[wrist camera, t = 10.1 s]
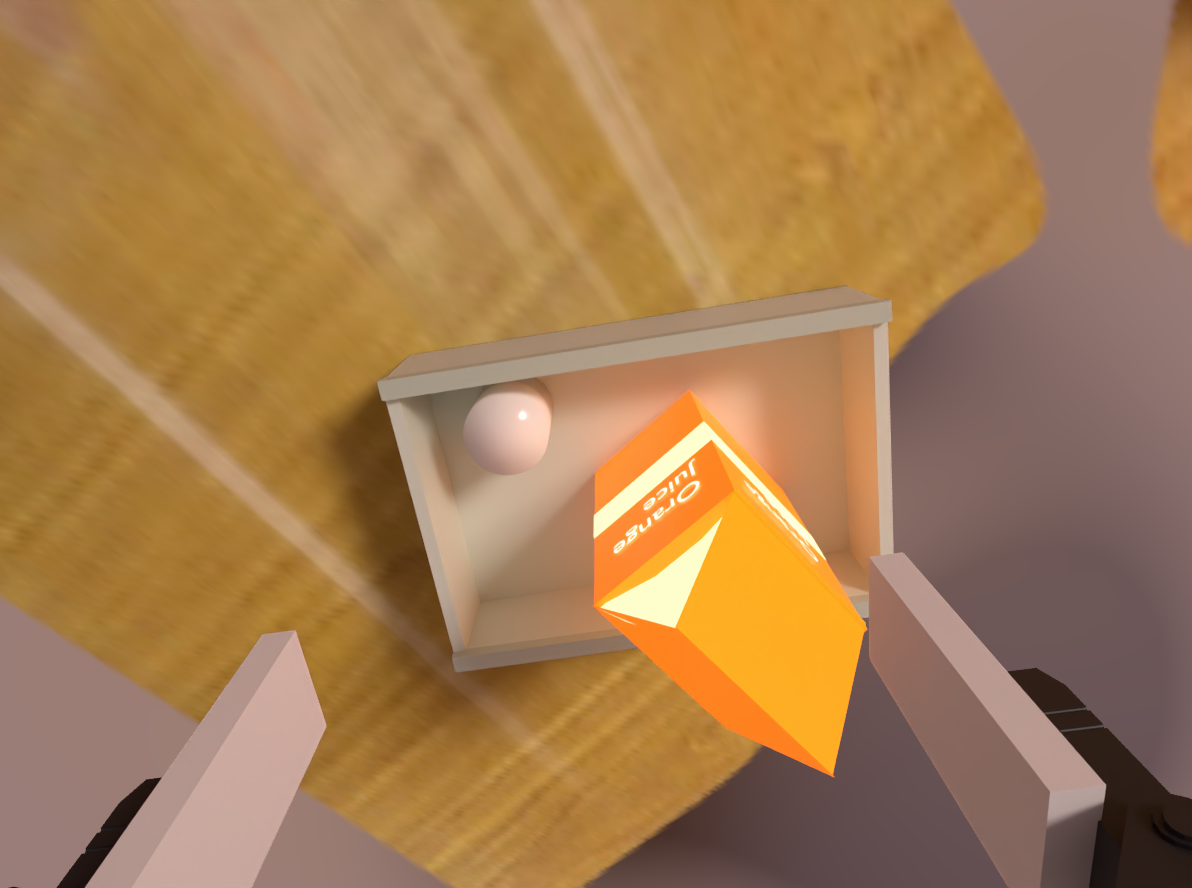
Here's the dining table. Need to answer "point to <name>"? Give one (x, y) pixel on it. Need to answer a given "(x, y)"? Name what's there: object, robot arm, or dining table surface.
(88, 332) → the dining table surface
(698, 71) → the dining table surface
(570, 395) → the tote
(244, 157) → the dining table surface
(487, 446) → the pink rounded egg
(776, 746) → the orange juice
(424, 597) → the dining table surface
